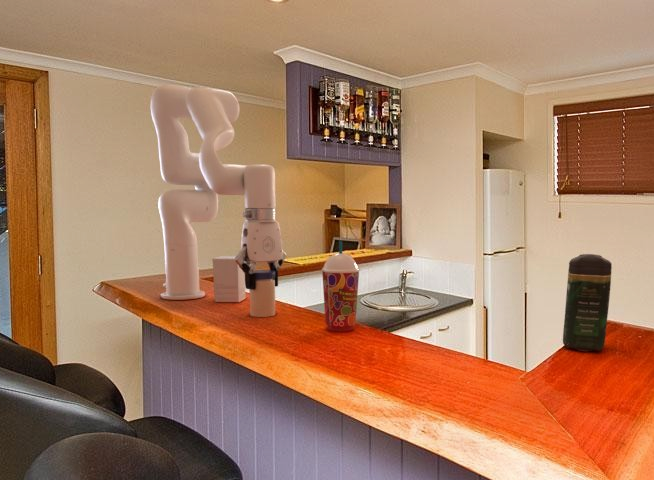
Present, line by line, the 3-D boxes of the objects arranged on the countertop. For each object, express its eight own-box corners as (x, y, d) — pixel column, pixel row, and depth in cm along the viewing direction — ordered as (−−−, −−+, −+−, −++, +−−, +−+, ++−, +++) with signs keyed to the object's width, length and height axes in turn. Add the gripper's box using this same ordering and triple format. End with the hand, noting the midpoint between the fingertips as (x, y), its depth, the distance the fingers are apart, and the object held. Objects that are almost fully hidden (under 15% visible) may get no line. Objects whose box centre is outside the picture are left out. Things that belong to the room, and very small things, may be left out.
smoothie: (346, 335, 121) (346, 242, 117) (314, 330, 125) (314, 240, 122) (365, 327, 128) (366, 240, 124) (335, 323, 132) (335, 238, 129)
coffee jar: (606, 354, 106) (614, 257, 103) (561, 350, 109) (568, 255, 106) (603, 343, 115) (611, 253, 112) (562, 339, 118) (569, 251, 115)
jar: (244, 314, 142) (243, 274, 140) (264, 311, 147) (263, 271, 145) (261, 318, 138) (260, 276, 136) (280, 314, 143) (280, 274, 141)
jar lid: (280, 277, 141) (280, 271, 141) (260, 280, 136) (260, 273, 136) (263, 275, 145) (263, 269, 145) (243, 277, 140) (242, 271, 140)
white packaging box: (246, 298, 166) (245, 255, 164) (238, 302, 158) (237, 258, 156) (222, 297, 166) (220, 255, 164) (213, 302, 159) (211, 258, 157)
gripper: (241, 216, 129) (243, 293, 132) (296, 215, 142) (297, 285, 145) (222, 216, 134) (224, 289, 137) (277, 215, 147) (278, 282, 150)
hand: (262, 286), depth 141 cm, fingers closed on jar lid, 6 cm apart
